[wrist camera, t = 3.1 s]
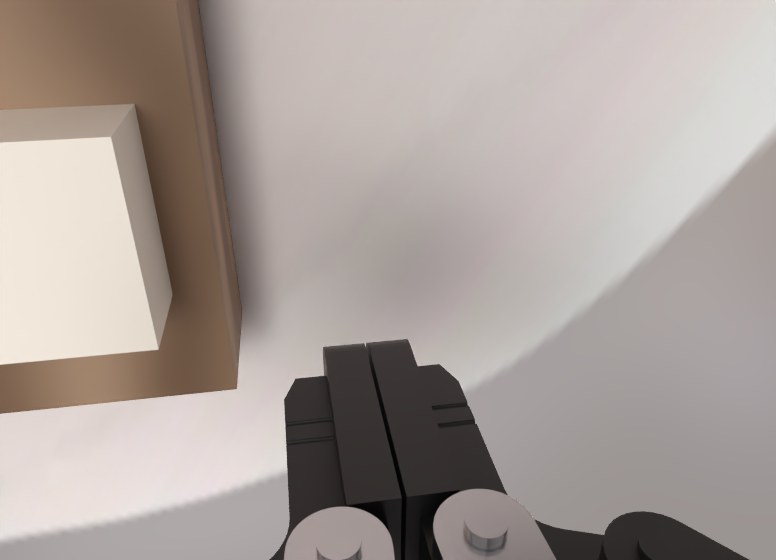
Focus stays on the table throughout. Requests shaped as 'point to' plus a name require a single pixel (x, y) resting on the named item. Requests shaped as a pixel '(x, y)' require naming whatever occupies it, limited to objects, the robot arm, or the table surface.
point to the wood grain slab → (167, 178)
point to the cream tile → (78, 236)
